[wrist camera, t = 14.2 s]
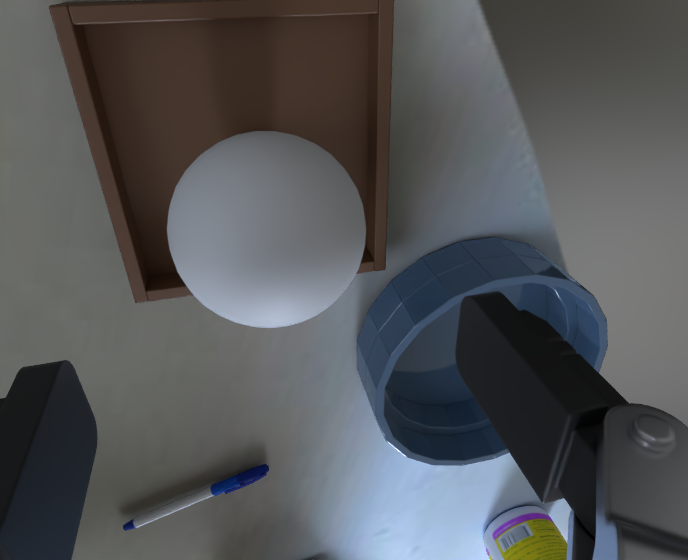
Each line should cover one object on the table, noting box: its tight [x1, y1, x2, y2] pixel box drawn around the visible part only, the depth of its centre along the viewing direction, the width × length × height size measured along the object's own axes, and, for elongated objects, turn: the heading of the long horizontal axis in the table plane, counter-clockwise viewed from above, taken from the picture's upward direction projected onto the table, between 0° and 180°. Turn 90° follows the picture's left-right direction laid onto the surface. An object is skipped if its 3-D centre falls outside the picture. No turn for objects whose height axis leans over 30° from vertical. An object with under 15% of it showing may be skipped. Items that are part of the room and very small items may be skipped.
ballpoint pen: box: [123, 464, 269, 530], centre depth 33 cm, size 10×1×1 cm, turn 109°
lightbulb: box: [167, 131, 366, 328], centre depth 18 cm, size 6×6×11 cm
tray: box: [49, 0, 394, 303], centre depth 22 cm, size 12×12×2 cm
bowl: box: [357, 238, 608, 466], centre depth 30 cm, size 14×14×4 cm
